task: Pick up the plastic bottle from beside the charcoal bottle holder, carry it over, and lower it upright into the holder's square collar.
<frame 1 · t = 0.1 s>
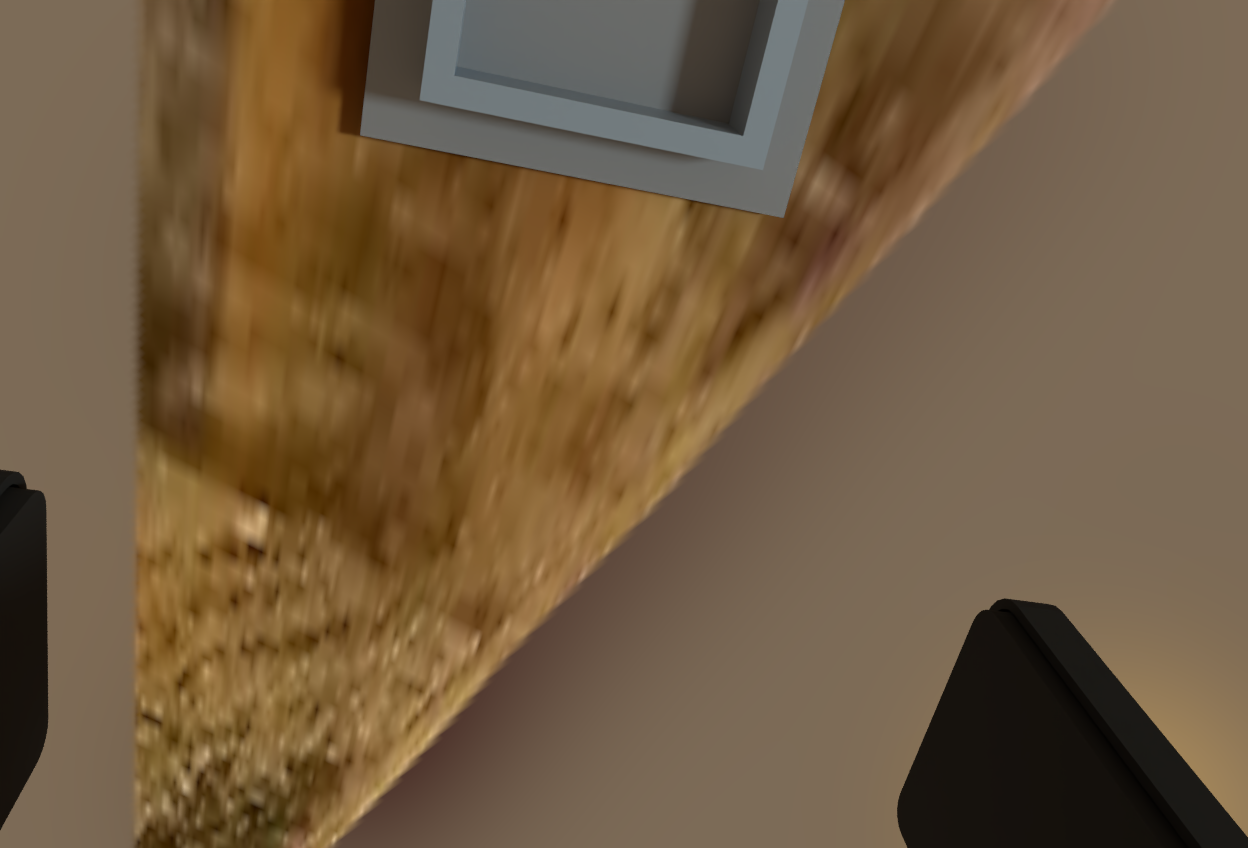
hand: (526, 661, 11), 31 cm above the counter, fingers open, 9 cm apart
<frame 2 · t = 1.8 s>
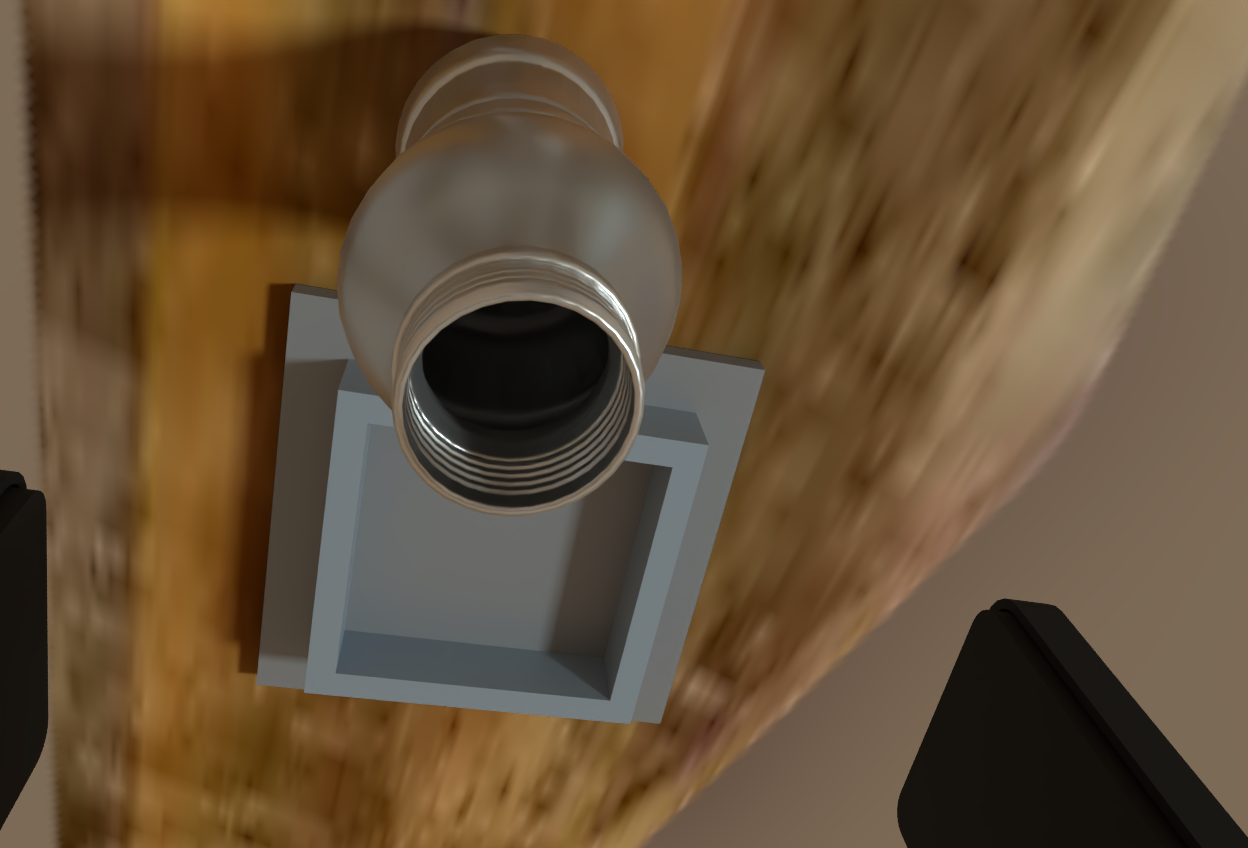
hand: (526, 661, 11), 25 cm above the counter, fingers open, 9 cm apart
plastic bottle: (509, 135, 33), on the counter
bottle holder: (498, 523, 39), on the counter
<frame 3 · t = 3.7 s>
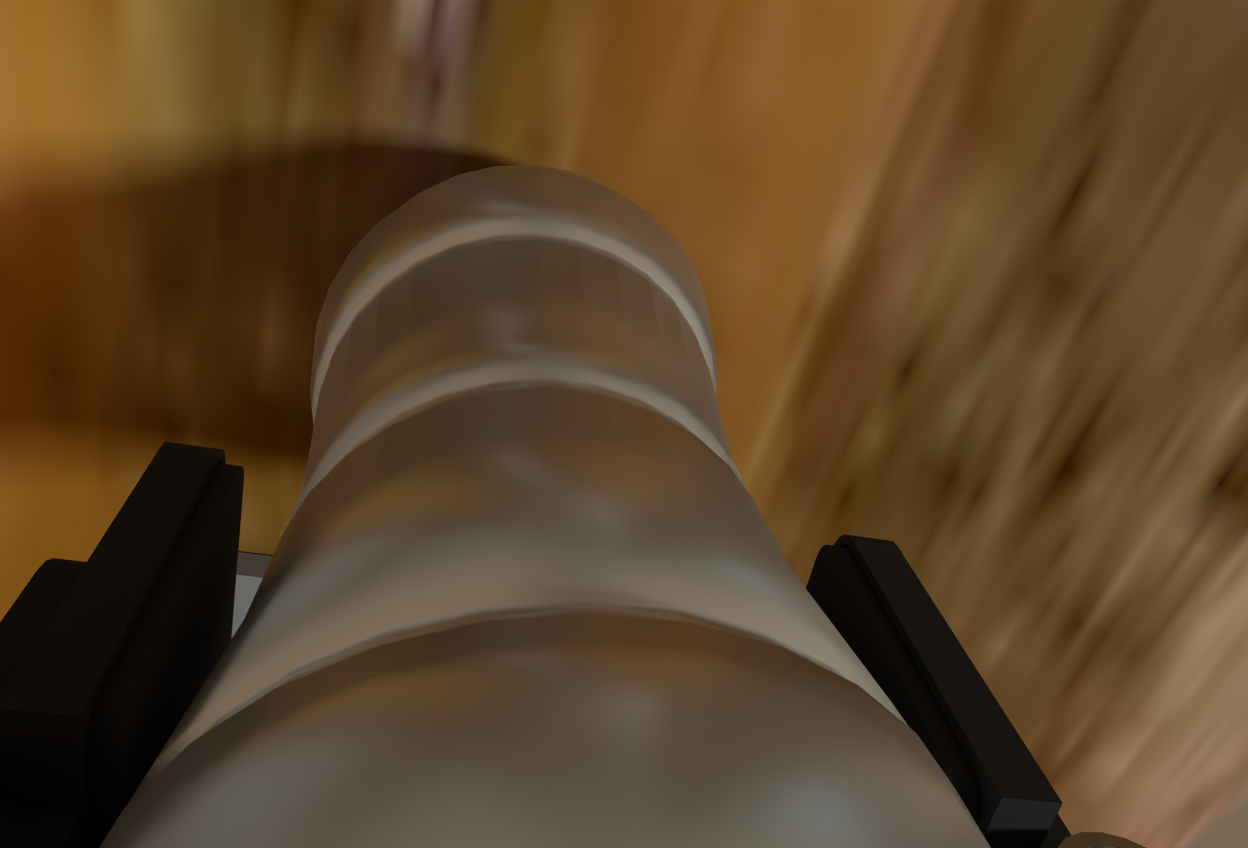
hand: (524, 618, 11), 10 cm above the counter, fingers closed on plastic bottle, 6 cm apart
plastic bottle: (512, 311, 20), on the counter, touching gripper
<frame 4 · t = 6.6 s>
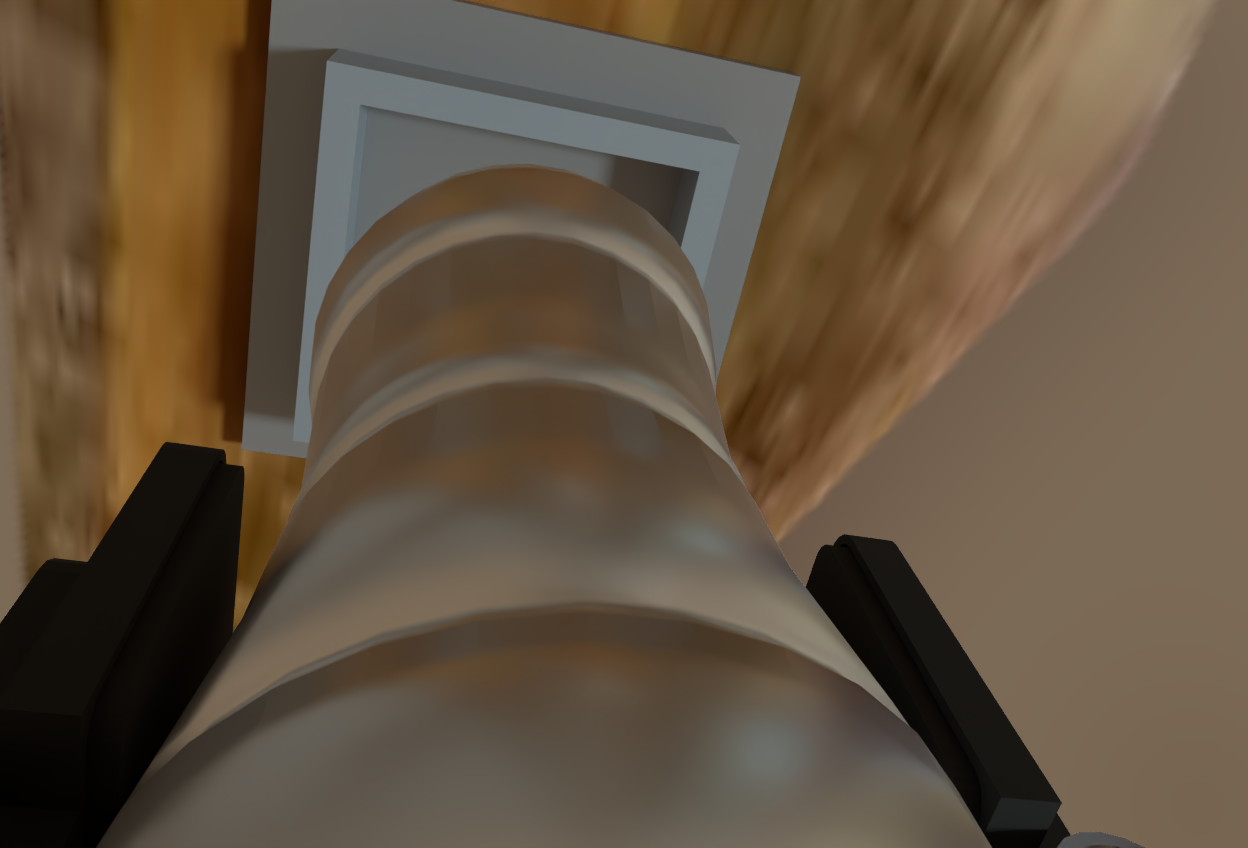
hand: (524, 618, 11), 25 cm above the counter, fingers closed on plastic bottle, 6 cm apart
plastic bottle: (511, 311, 20), point 15 cm above the counter, touching gripper
bottle holder: (506, 265, 36), on the counter
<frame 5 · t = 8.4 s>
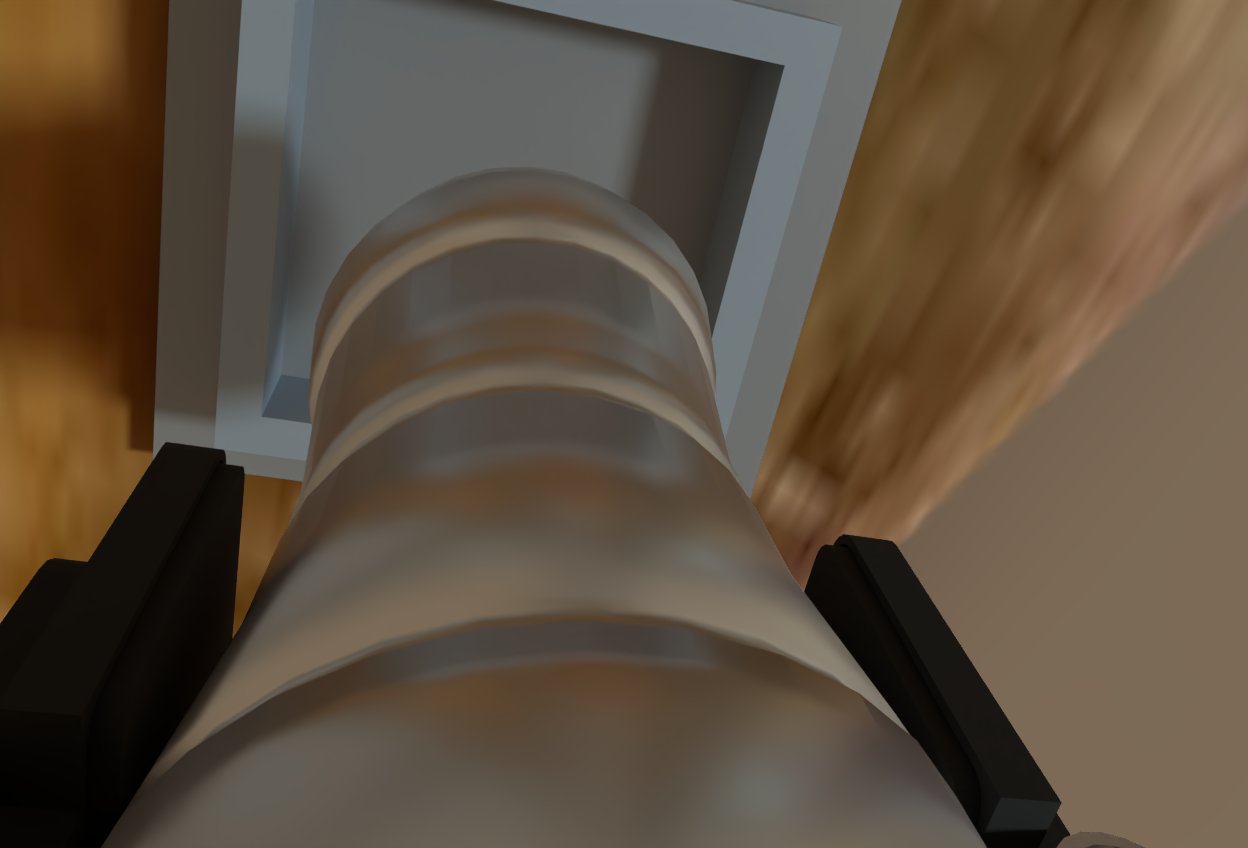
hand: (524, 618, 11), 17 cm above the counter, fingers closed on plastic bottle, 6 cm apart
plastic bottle: (511, 313, 20), point 7 cm above the counter, touching gripper
bottle holder: (509, 211, 26), on the counter
when the fingers open (12 cm above the counter, at t = 9.9 s): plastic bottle drops 1 cm, resting on bottle holder.
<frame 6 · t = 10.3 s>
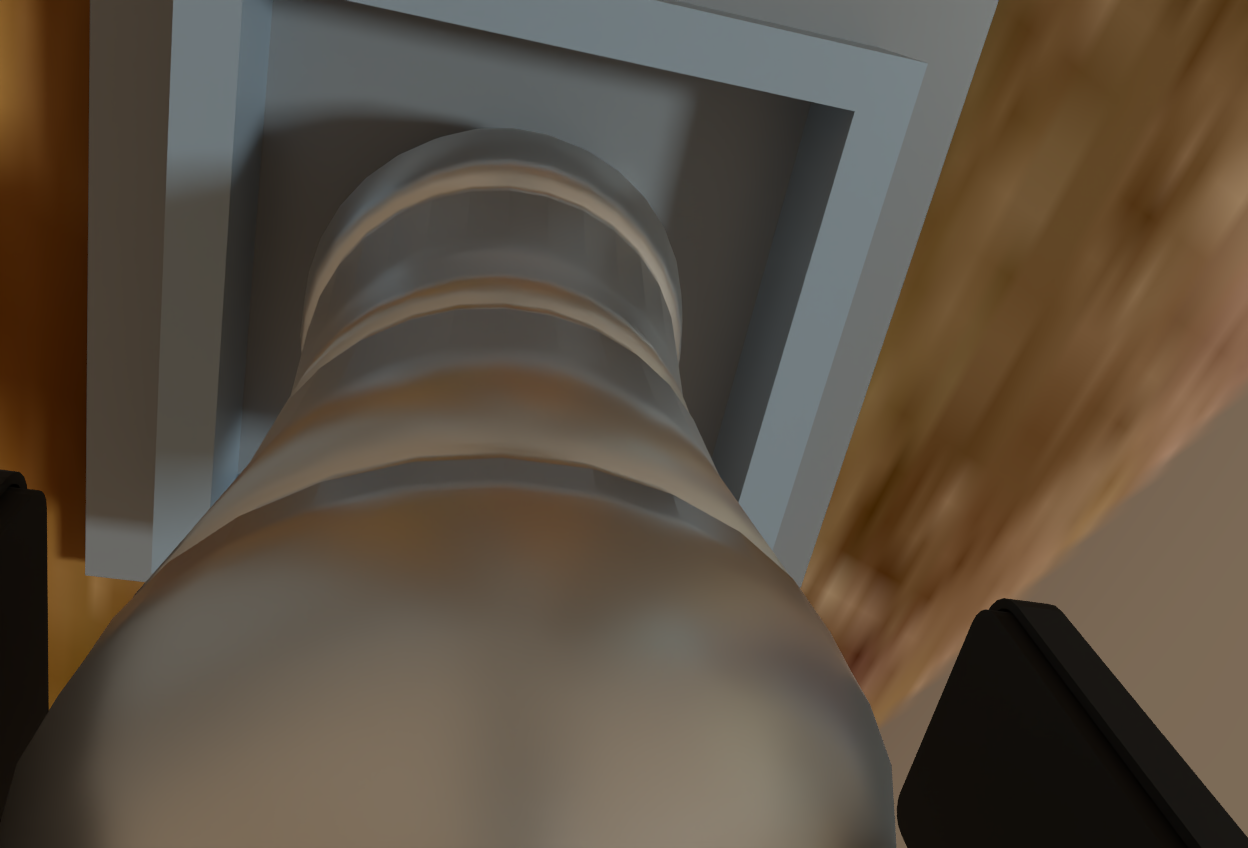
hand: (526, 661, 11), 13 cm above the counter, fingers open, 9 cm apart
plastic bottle: (496, 271, 21), point 1 cm above the counter, touching bottle holder
bottle holder: (511, 279, 22), on the counter
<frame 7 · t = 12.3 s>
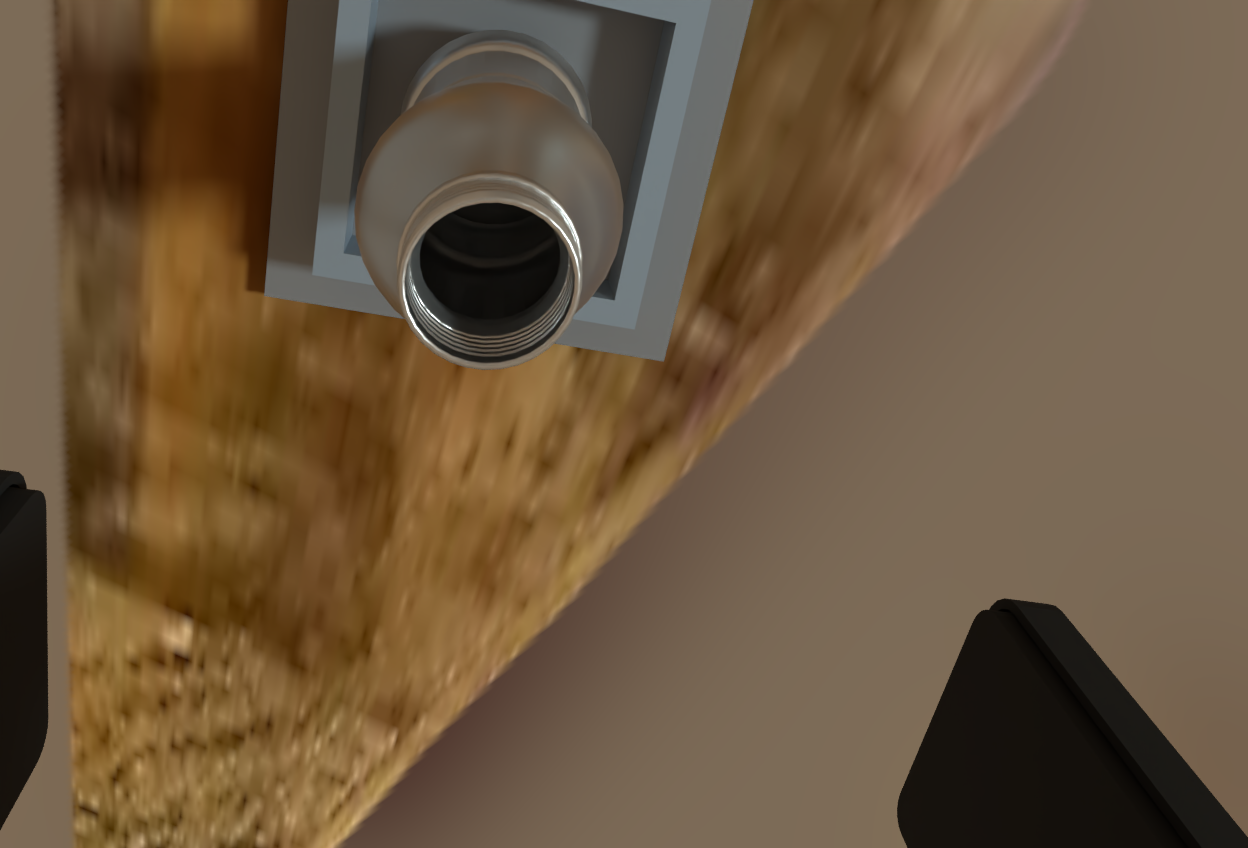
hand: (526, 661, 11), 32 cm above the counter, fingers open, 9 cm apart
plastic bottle: (496, 117, 39), point 1 cm above the counter, touching bottle holder
bottle holder: (504, 125, 39), on the counter
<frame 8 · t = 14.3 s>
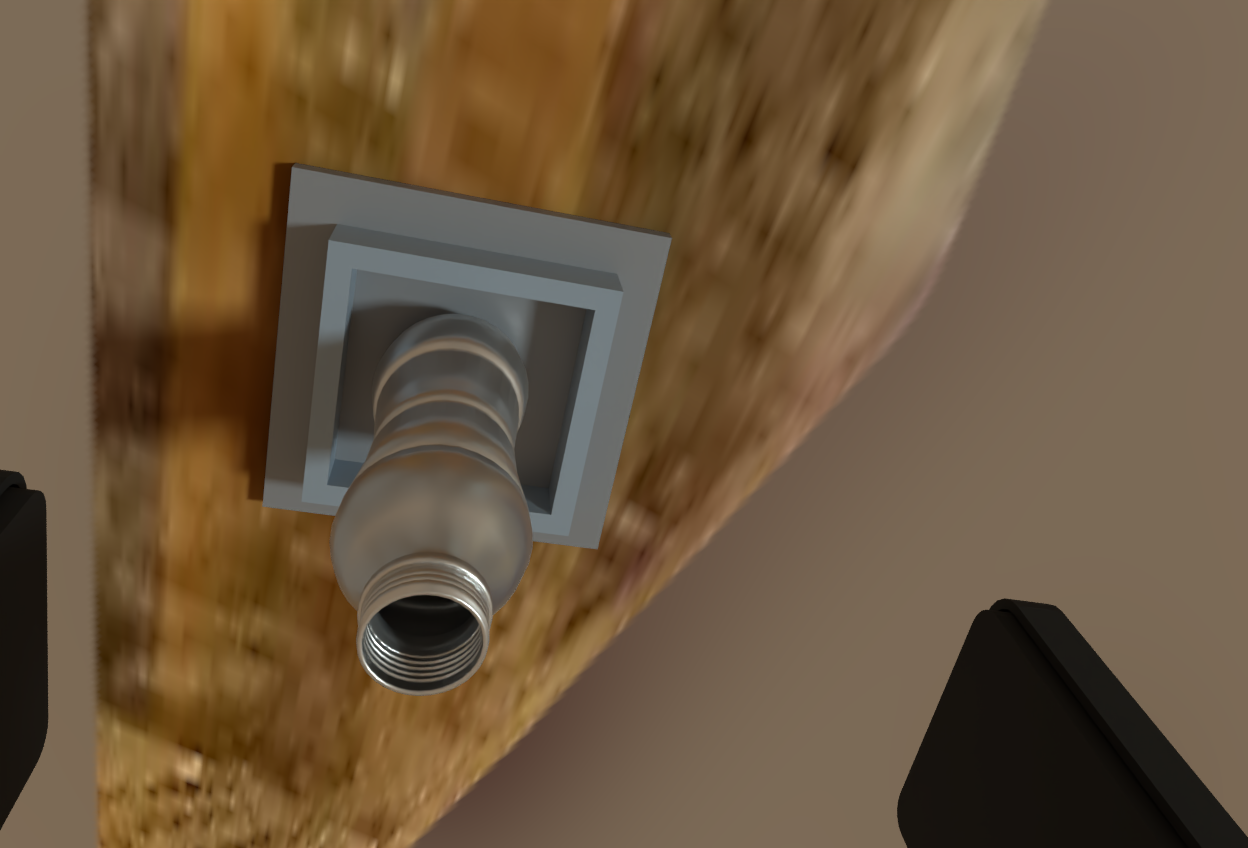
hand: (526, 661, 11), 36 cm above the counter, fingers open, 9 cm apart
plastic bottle: (453, 367, 47), point 1 cm above the counter, touching bottle holder
bottle holder: (460, 370, 48), on the counter
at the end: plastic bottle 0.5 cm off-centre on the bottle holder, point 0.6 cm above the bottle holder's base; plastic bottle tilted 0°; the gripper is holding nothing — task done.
